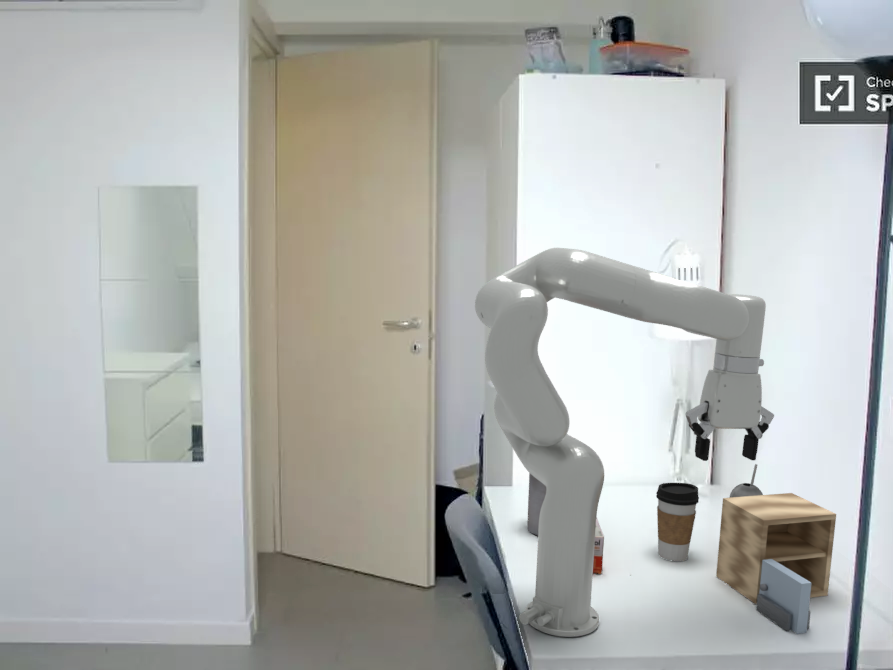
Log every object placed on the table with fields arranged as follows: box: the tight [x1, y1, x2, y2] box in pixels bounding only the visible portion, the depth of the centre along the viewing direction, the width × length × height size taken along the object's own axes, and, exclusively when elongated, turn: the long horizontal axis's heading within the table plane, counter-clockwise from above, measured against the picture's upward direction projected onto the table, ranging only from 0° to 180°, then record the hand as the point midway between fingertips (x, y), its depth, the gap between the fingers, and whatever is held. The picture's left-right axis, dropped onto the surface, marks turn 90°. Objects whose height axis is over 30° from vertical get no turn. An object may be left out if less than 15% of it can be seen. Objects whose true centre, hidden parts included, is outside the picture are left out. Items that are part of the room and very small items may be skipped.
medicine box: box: [593, 515, 605, 575], centre depth 166 cm, size 15×8×8 cm, turn 178°
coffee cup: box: [655, 482, 700, 562], centre depth 169 cm, size 8×8×15 cm
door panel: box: [759, 559, 811, 635], centre depth 143 cm, size 10×3×9 cm, turn 17°
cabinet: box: [715, 492, 837, 605], centre depth 156 cm, size 12×16×16 cm
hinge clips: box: [755, 594, 812, 632], centre depth 144 cm, size 8×5×3 cm, turn 17°
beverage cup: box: [728, 463, 764, 498], centre depth 170 cm, size 7×7×20 cm
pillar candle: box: [526, 472, 547, 536], centre depth 180 cm, size 10×10×15 cm
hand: (725, 458), depth 147 cm, fingers open, 9 cm apart
